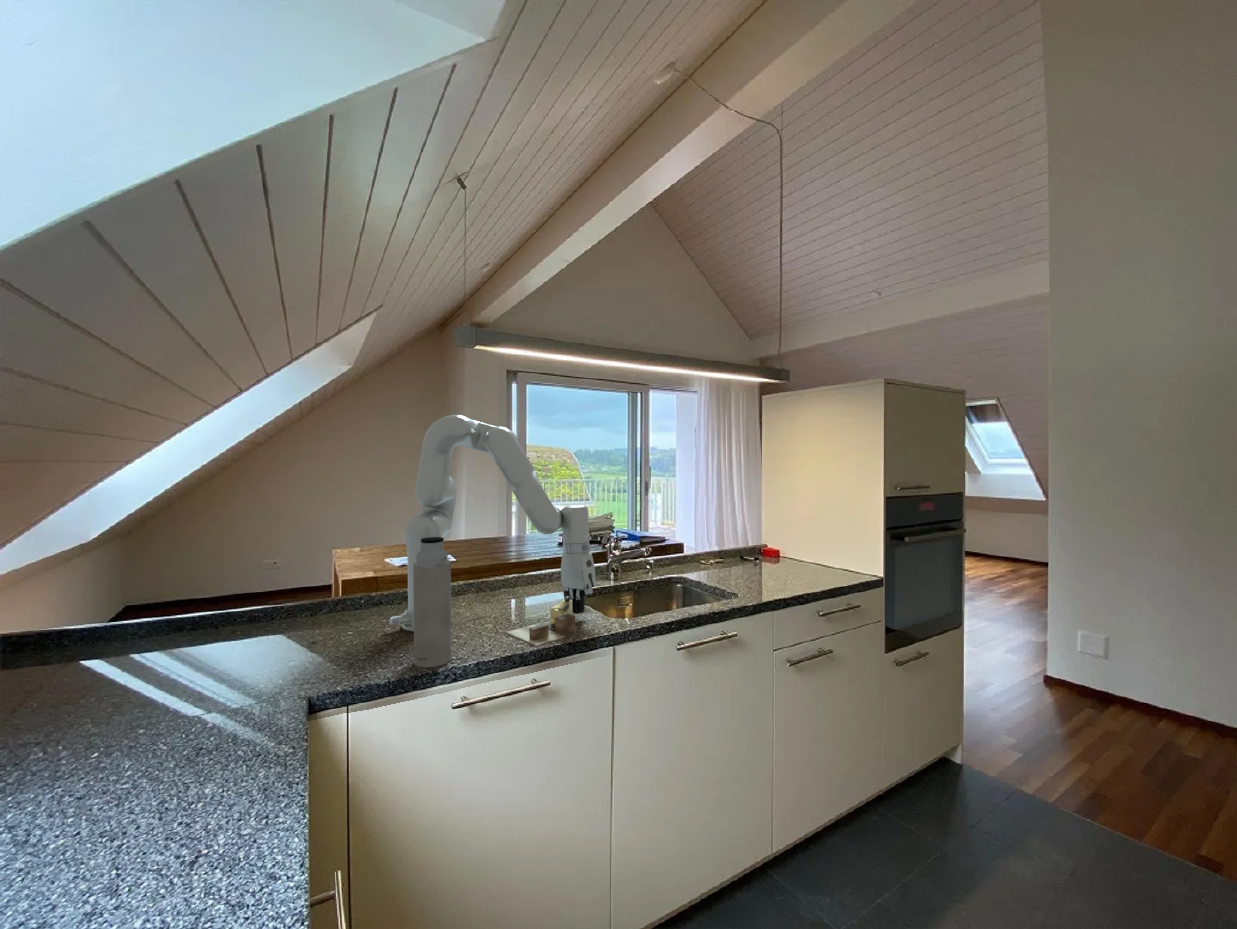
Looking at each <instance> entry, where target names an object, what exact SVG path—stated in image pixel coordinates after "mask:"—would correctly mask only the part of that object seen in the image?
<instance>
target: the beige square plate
mask: <svg viewBox="0 0 1237 929" xmlns="http://www.w3.org/2000/svg"><path fill="white" fill-rule="evenodd" d="M548 625H549V624H548ZM534 626H538V624H531V625H526V626H524V627H520V628H516V629H511V630H508V631H506V632H505V634H508V635H509V636H512V637H514V638H516V639H518V640H521V641H523V642H526V643H528V644H530V645H532V646H535V647H539V646H542V645H546V644H549V643H551V642H556V641H559V640H561V639H562V640H563V639H565V638H566V637H567V635H566V636H564V635H560V634H557V633H555V628H554V627H551V626H550V625H549V637H545V638H542V639H538V640H535V641H533V640H530V635H529V628H530V627H534ZM555 640H556V641H555Z"/></svg>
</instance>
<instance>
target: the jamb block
mask: <svg viewBox="0 0 1237 929" xmlns="http://www.w3.org/2000/svg"><path fill="white" fill-rule="evenodd" d="M554 632H555V633H557V634H560V635H564V636H566V637H567V636H568V635H572V634H575V633H576V615H575V614H574V615H571V614H565V615H561V616H557V617H555V631H554Z"/></svg>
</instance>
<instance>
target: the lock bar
mask: <svg viewBox="0 0 1237 929" xmlns="http://www.w3.org/2000/svg"><path fill="white" fill-rule="evenodd" d="M549 610H550V611H549V612H550V613H549V614H550V615H549V616H550V617H549V618H550V626H551V627H554V628H555V617H557V616H561V615H565V614H571V615H574V616H575V613H573V610H572V599H570V597H569V596H566V597H565V599H564V598H563V599H562V600H561V601H559V602H558V603H557V604H556V605H554V606H553V607H551V608H550V609H549Z"/></svg>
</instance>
